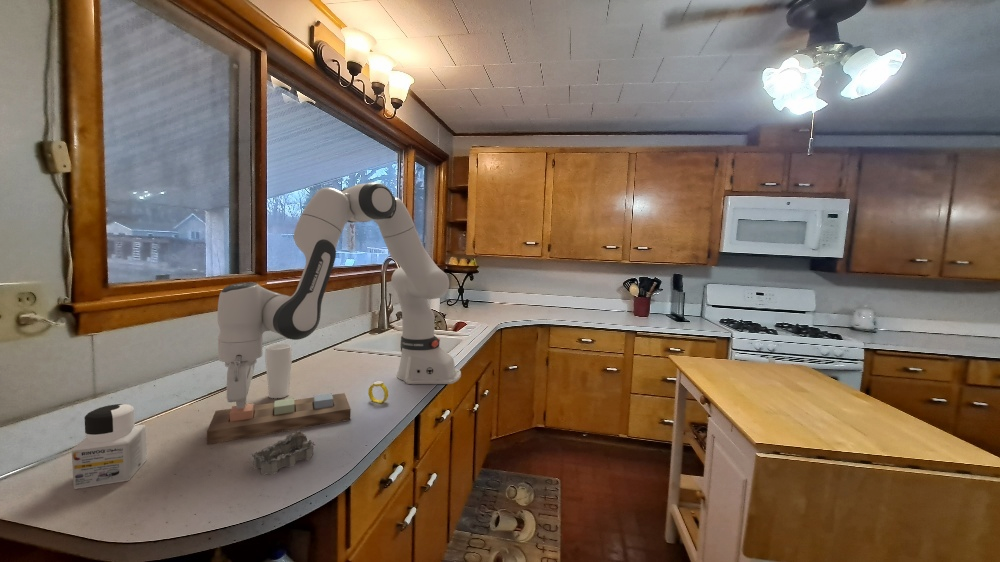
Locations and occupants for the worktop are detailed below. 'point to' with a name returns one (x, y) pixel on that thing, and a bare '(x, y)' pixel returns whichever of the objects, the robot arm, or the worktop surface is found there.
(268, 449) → the egg carton
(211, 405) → the worktop surface
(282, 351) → the drinking glass
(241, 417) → the terracotta button
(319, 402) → the slate button
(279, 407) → the sage button
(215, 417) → the button panel
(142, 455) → the container
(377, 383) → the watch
